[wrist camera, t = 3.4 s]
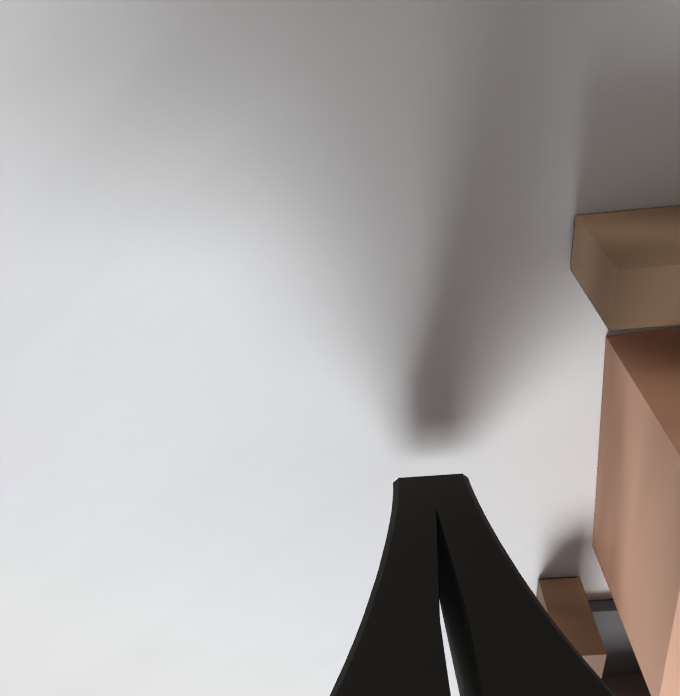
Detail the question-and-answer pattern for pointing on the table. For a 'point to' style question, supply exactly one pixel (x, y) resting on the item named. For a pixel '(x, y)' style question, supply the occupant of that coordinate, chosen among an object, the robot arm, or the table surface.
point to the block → (642, 497)
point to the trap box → (617, 313)
